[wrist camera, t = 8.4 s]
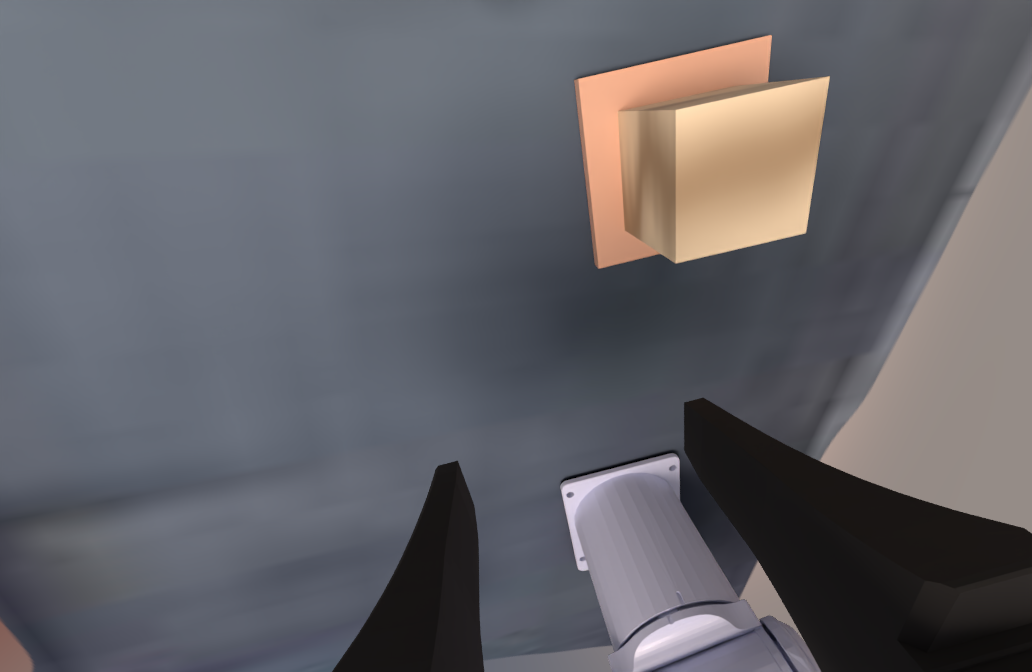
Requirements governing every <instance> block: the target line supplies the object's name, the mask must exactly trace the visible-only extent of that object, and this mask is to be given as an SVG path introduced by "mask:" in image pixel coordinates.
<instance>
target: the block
mask: <svg viewBox="0 0 1032 672" xmlns="http://www.w3.org/2000/svg"><path fill="white" fill-rule="evenodd" d="M829 78H830V76H828V77H818V78H808V79H798V80H788V81H779V82H769V83H759V84H749V85H739V86H732V87H727V88H722V89H718V90H713V91H709V92H704V93H699V94H695V95H690V96H686V97H681V98H676V99H672V100H667V101H663V102H658V103H653V104H649V105H644V106H640V107H635V108H631V109H626V110H621V111H618V127H619V143H620V160H621V176H622V193H623V209H624V226H625V231H626V232H628V233H629V234H631V235H633V236H634V237H636V238H637V239H639V240H640V241H642V242H643V243H645V244H646V245H648V246H649V247H651V248H653V249H654V250H656V251H657V252H659V253H660V254H662V255H663V256H665V257H666V258H668V259H670V260H671V261H673V262H674V263H680V262H685V261H689V260H693V259H698V258H702V257H706V256H710V255H715V254H719V253H723V252H728V251H732V250H736V249H740V248H745V247H749V246H753V245H757V244H762V243H766V242H770V241H775V240H779V239H783V238H787V237H792V236H796V235H800V234H805V233H806V229H807V223H808V216H809V210H810V203H811V197H812V190H813V183H814V177H815V170H816V164H817V157H818V151H819V144H820V137H821V131H822V124H823V118H824V111H825V105H826V98H827V92H828V85H829Z"/></svg>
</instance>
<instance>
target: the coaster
mask: <svg viewBox="0 0 1032 672" xmlns="http://www.w3.org/2000/svg"><path fill="white" fill-rule="evenodd" d="M771 38H772V35H769V36H764V37H760V38H756V39H751V40H747V41H743V42H738V43H734V44H729V45H725V46H721V47H716V48H712V49H708V50H703V51H699V52H694V53H690V54H686V55H681V56H677V57H672V58H668V59H664V60H659V61H655V62H651V63H646V64H642V65H637V66H633V67H629V68H624V69H620V70H616V71H611V72H607V73H602V74H598V75H594V76H589V77H585V78H581V79H577V80H574V83H575V92H576V100H577V109H578V118H579V127H580V136H581V145H582V154H583V163H584V172H585V181H586V190H587V199H588V208H589V216H590V225H591V234H592V243H593V252H594V261H595V265H596V266H597V267H598V268H599V269H600V268H604V267H608V266H612V265H616V264H620V263H624V262H628V261H633V260H637V259H641V258H645V257H649V256H653V255H657V254H660V253H659V252H657V251H656V250H654V249H653V248H651V247H649V246H648V245H646V244H645V243H643V242H642V241H640V240H639V239H637V238H636V237H634V236H633V235H631V234H629V233H628V232H626V231H625V226H624V209H623V193H622V176H621V160H620V143H619V127H618V111H621V110H626V109H631V108H635V107H640V106H644V105H649V104H653V103H658V102H663V101H667V100H672V99H676V98H681V97H686V96H690V95H695V94H699V93H704V92H709V91H713V90H718V89H722V88H727V87H732V86H739V85H749V84H759V83H768V75H769V63H770V51H771Z"/></svg>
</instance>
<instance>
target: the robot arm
mask: <svg viewBox="0 0 1032 672" xmlns="http://www.w3.org/2000/svg"><path fill="white" fill-rule="evenodd" d="M684 451H685V453H686V454H687V456H688V458H689V460H690V462H691V464H692V466H693V467H694V469H695V471H696V473H697V474H698V476H699V478H700V480H701V481H702V483H703V484H704V485H705V487H706V488H707V490H708V491H709V492H710V494H711V495H712V497H713V498H714V499H715V501H716V502H717V503H718V505H719V506H720V508H721V509H722V510H723V512H724V513H725V514H726V516H727V517H728V519H729V520H730V521H731V523H732V524H733V525H734V527H735V528H736V529H737V531H738V532H739V534H740V535H741V536H742V538H743V539H744V540H745V542H746V543H747V545H748V546H749V548H750V549H751V551H752V552H753V554H754V555H755V556H756V558H757V560H758V561H759V563H760V564H761V566H762V568H763V570H764V571H765V573H766V575H767V576H768V578H769V580H770V581H771V583H772V585H773V586H774V588H775V590H776V591H777V593H778V595H779V596H780V598H781V600H782V602H783V603H784V605H785V607H786V609H787V610H788V612H789V614H790V616H791V617H792V619H793V621H794V623H795V624H796V626H797V628H798V630H799V632H800V633H801V635H802V637H803V639H804V641H805V642H804V641H803V639H802V638H801V637H800V636H799V635H798V633H796V631H795V630H794V629H793V628H792V627H790V626H789V625H787V624H785V623H783V622H781V621H778V620H777V619H776V618H774V617H773V616H766V617H764V618H761V619H760V622H759V620H758V618H757V617H756V615H755V614H754V612H753V611H752V609H751V607H750V605H749V604H748V602H747V601H746V600H745V599H743V600H739V598H738V596H737V595H736V593H735V591H734V590H733V588H732V586H731V585H730V583H729V582H728V580H727V578H726V577H725V575H724V573H723V572H722V570H721V568H720V567H719V565H718V563H717V562H716V560H715V558H714V557H713V555H712V553H711V552H710V550H709V548H708V547H707V545H706V543H705V542H704V540H703V538H702V537H701V535H700V533H699V532H698V530H697V529H696V527H695V525H694V524H693V522H692V520H691V519H690V517H689V515H688V514H687V512H686V510H685V509H684V507H683V505H682V504H681V502H680V460H679V458H678V456H677V455H676V454H674V453H670V454H666V455H662V456H658V457H654V458H650V459H646V460H643V461H639V462H635V463H631V464H627V465H623V466H620V467H616V468H612V469H608V470H604V471H600V472H597V473H593V474H589V475H585V476H581V477H577V478H574V479H570V480H566V481H564V482H563V483H562V484H561V487H560V488H561V492H562V497H563V502H564V507H565V511H566V516H567V521H568V525H569V530H570V535H571V540H572V544H573V549H574V554H575V558H576V563H577V567H578V569H579V570H581V571H585V570H589V572H590V575H591V578H592V582H593V585H594V588H595V591H596V594H597V598H598V601H599V604H600V607H601V610H602V614H603V617H604V620H605V623H606V626H607V630H608V633H609V636H610V639H611V642H612V646H613V649H614V652H613V653H611V654H609V655H608V660H609V663H610V666H611V670H612V672H1032V533H1030V532H1028V531H1027V530H1026V529H1024V528H1021V527H1017V526H1013V525H1009V524H1005V523H1001V522H998V521H994V520H990V519H986V518H982V517H978V516H974V515H970V514H967V513H963V512H959V511H956V510H952V509H949V508H945V507H942V506H939V505H935V504H932V503H929V502H926V501H922V500H919V499H916V498H913V497H910V496H907V495H904V494H901V493H898V492H896V491H892V490H890V489H887V488H884V487H882V486H879V485H876V484H873V483H871V482H868V481H865V480H863V479H860V478H858V477H855V476H853V475H850V474H848V473H845V472H843V471H841V470H838V469H836V468H834V467H831V466H829V465H827V464H824V463H822V462H820V461H818V460H816V459H813V458H811V457H809V456H807V455H805V454H803V453H801V452H799V451H797V450H795V449H793V448H791V447H789V446H787V445H785V444H783V443H781V442H779V441H778V440H776V439H774V438H772V437H770V436H768V435H766V434H765V433H763V432H761V431H759V430H757V429H756V428H754V427H752V426H750V425H749V424H747V423H745V422H743V421H742V420H740V419H738V418H737V417H735V416H733V415H732V414H730V413H728V412H727V411H725V410H723V409H721V408H720V407H718V406H716V405H715V404H713V403H711V402H710V401H708V400H706V399H704V398H700V399H696V400H693V401H689V402H685V403H684ZM569 492H570V493H569ZM332 672H484V666H483V655H482V645H481V635H480V616H479V547H478V532H477V523H476V515H475V508H474V504H473V501H472V498H471V495H470V493H469V490H468V487H467V485H466V482H465V479H464V476H463V474H462V471H461V468H460V466H459V463H458V461H455V462H451V463H447V464H443V465H440V466H438V467H437V468H436V470H435V474H434V477H433V480H432V483H431V486H430V489H429V492H428V495H427V498H426V501H425V504H424V506H423V509H422V511H421V514H420V516H419V519H418V521H417V524H416V526H415V529H414V531H413V534H412V536H411V538H410V540H409V542H408V545H407V547H406V549H405V551H404V553H403V556H402V558H401V560H400V562H399V564H398V566H397V568H396V570H395V572H394V574H393V576H392V578H391V580H390V581H389V583H388V585H387V587H386V589H385V590H384V592H383V594H382V596H381V598H380V599H379V601H378V603H377V604H376V606H375V608H374V609H373V611H372V613H371V614H370V616H369V618H368V619H367V621H366V623H365V624H364V626H363V627H362V629H361V630H360V632H359V634H358V635H357V637H356V638H355V640H354V641H353V642H352V644H351V645H350V647H349V648H348V650H347V651H346V652H345V654H344V655H343V657H342V658H341V660H340V661H339V663H338V664H337V665H336V667H335V668H334V670H333V671H332Z"/></svg>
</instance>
